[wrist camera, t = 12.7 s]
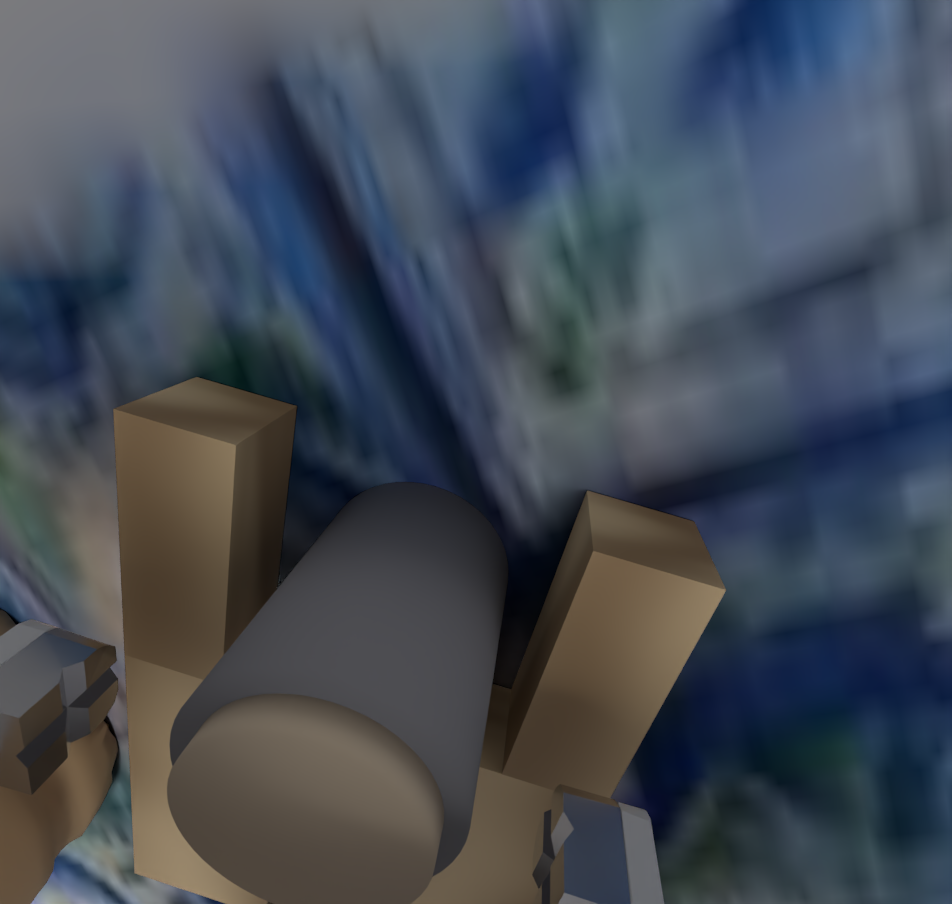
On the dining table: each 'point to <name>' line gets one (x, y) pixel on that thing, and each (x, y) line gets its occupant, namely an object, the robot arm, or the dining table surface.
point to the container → (51, 811)
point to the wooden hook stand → (256, 578)
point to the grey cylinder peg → (350, 709)
